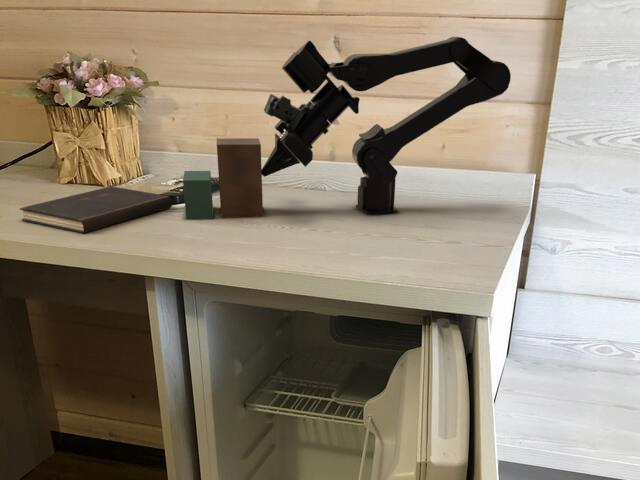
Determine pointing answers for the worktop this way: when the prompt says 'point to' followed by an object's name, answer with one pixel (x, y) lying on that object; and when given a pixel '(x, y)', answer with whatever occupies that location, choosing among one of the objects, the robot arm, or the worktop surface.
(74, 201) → the hardcover book
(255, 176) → the walnut block
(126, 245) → the worktop surface
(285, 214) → the worktop surface
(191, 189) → the green block
